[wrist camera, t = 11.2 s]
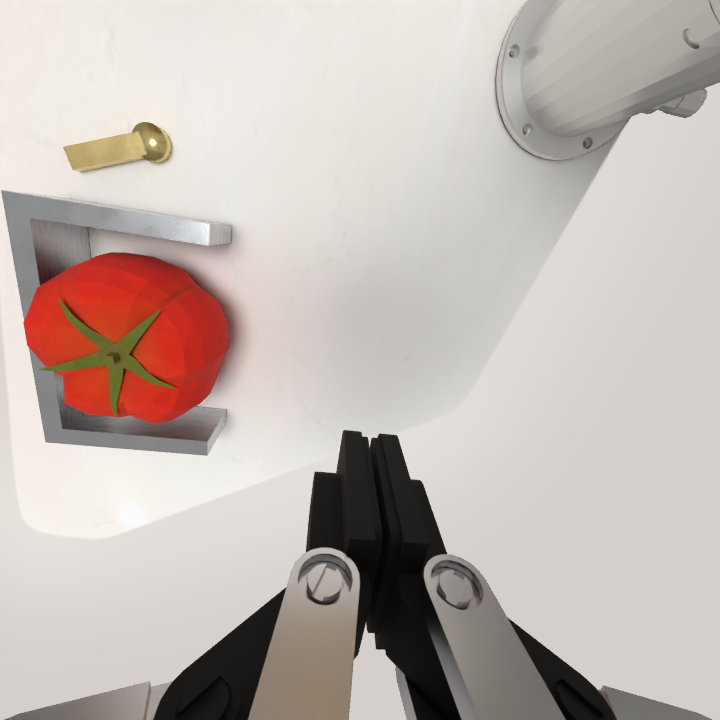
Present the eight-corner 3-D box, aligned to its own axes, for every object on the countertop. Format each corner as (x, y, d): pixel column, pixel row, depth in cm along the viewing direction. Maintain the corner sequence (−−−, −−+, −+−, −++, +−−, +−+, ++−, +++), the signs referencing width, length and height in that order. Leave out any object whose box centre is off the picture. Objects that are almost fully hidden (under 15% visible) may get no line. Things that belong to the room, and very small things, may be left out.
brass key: (164, 122, 28) (158, 119, 27) (176, 159, 29) (171, 156, 28) (69, 142, 28) (60, 139, 27) (84, 178, 29) (76, 176, 28)
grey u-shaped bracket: (231, 225, 31) (209, 224, 25) (226, 421, 37) (207, 455, 32) (65, 198, 29) (1, 190, 23) (90, 409, 36) (45, 442, 30)
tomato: (63, 288, 31) (-59, 314, 22) (190, 225, 30) (123, 223, 21) (154, 407, 36) (88, 473, 26) (267, 357, 35) (242, 405, 25)
